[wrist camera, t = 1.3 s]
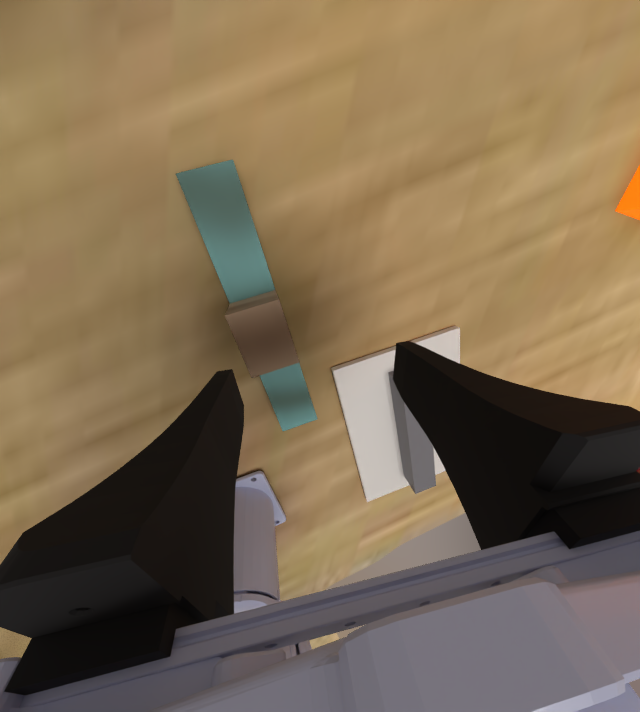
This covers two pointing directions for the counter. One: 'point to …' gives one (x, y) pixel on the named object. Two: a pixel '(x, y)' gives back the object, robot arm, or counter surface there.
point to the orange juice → (631, 198)
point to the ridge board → (389, 420)
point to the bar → (248, 288)
